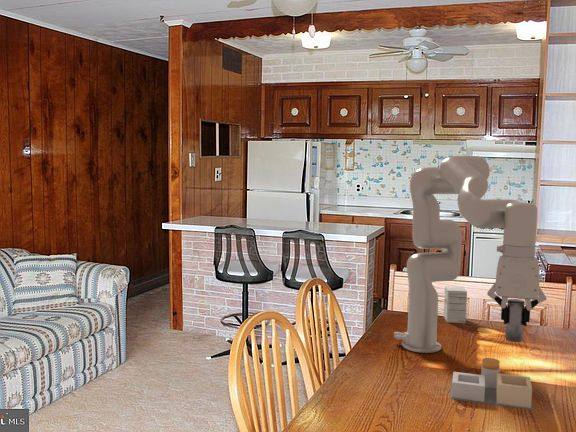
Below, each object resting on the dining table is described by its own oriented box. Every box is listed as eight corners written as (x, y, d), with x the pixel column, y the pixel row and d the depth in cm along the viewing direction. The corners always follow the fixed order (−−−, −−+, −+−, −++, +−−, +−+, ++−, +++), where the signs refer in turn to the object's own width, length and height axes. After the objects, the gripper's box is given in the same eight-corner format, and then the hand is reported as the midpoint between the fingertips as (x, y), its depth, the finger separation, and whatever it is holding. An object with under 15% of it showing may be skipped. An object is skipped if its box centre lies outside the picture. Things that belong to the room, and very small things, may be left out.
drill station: (448, 404, 151) (450, 379, 151) (451, 381, 166) (452, 359, 166) (533, 415, 145) (534, 390, 145) (528, 391, 160) (529, 368, 160)
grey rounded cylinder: (505, 341, 148) (507, 302, 147) (505, 336, 152) (507, 298, 151) (522, 342, 147) (525, 303, 146) (522, 338, 151) (524, 299, 150)
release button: (481, 384, 159) (482, 362, 159) (481, 378, 164) (482, 357, 163) (498, 386, 158) (499, 364, 157) (498, 380, 162) (499, 359, 162)
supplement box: (443, 317, 234) (444, 285, 232) (462, 318, 233) (463, 286, 232) (446, 322, 226) (447, 290, 225) (466, 323, 226) (467, 290, 224)
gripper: (483, 252, 147) (479, 324, 148) (556, 256, 141) (552, 331, 143) (483, 247, 154) (480, 316, 155) (553, 252, 148) (549, 323, 150)
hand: (514, 323), depth 149 cm, fingers closed on grey rounded cylinder, 4 cm apart
